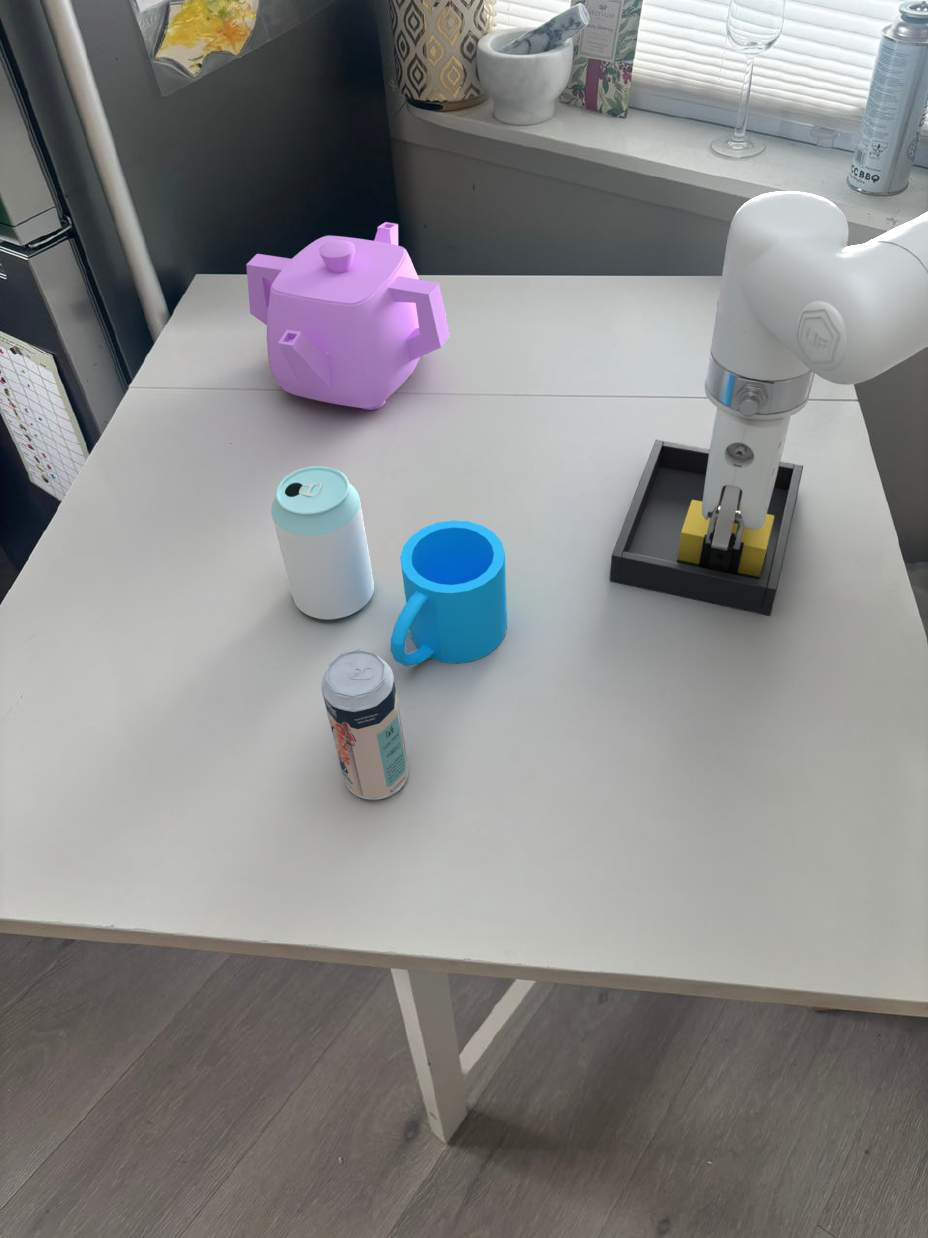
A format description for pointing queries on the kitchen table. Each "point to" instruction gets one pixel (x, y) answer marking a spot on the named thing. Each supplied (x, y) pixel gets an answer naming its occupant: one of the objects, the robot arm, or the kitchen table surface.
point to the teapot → (346, 317)
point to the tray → (659, 521)
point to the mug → (451, 594)
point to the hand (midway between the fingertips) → (723, 552)
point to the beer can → (365, 724)
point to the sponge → (752, 539)
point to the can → (323, 542)
